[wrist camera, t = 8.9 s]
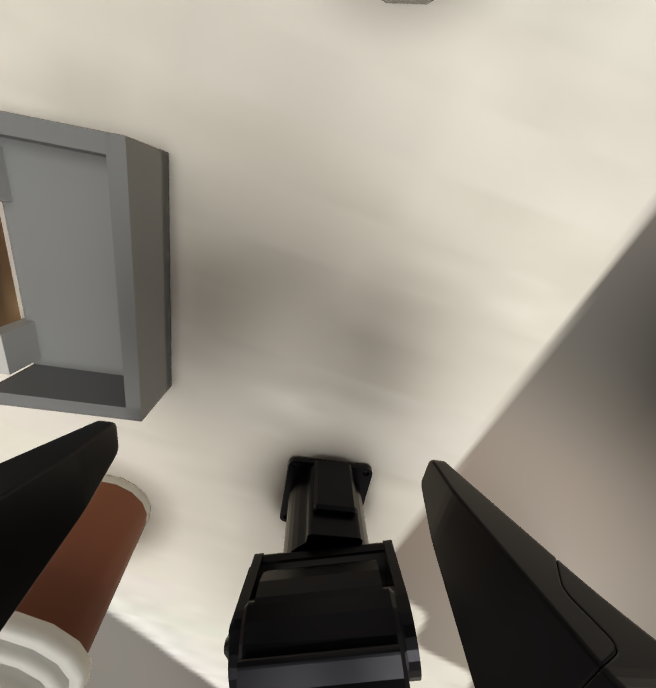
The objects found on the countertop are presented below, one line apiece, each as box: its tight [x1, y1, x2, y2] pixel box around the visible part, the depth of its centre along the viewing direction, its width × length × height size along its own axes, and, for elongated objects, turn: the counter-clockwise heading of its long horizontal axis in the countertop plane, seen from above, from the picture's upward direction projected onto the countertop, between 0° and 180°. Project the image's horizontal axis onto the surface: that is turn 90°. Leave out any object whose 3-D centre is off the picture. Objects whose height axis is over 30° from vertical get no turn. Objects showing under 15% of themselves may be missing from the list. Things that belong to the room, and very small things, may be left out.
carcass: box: [0, 111, 171, 421], centre depth 17 cm, size 14×12×4 cm
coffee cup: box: [0, 475, 151, 688], centre depth 20 cm, size 9×9×12 cm
